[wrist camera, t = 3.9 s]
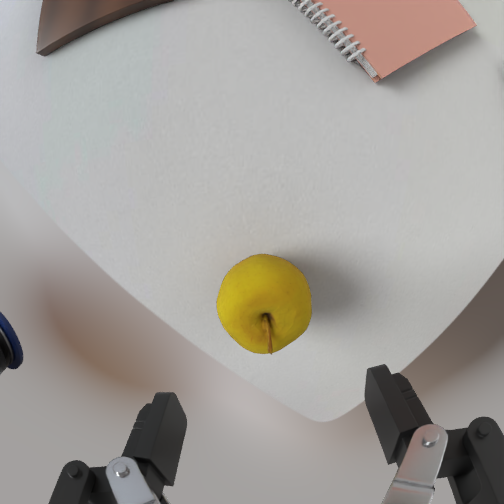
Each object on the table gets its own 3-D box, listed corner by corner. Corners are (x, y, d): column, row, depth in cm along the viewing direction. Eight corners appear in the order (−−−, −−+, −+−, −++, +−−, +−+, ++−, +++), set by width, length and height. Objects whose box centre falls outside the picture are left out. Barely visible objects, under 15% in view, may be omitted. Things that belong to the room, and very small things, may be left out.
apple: (265, 327, 25) (269, 391, 17) (207, 282, 23) (186, 337, 16) (318, 276, 23) (346, 328, 15) (260, 223, 22) (263, 257, 14)
